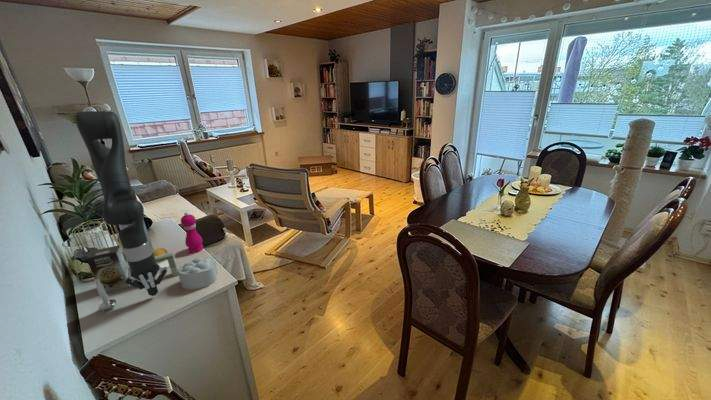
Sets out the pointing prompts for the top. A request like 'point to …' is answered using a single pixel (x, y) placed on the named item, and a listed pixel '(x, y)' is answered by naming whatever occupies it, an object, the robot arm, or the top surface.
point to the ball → (159, 251)
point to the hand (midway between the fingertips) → (154, 294)
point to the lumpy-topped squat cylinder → (198, 273)
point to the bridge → (161, 258)
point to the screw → (104, 297)
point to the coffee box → (109, 267)
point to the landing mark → (164, 263)
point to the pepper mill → (191, 233)
